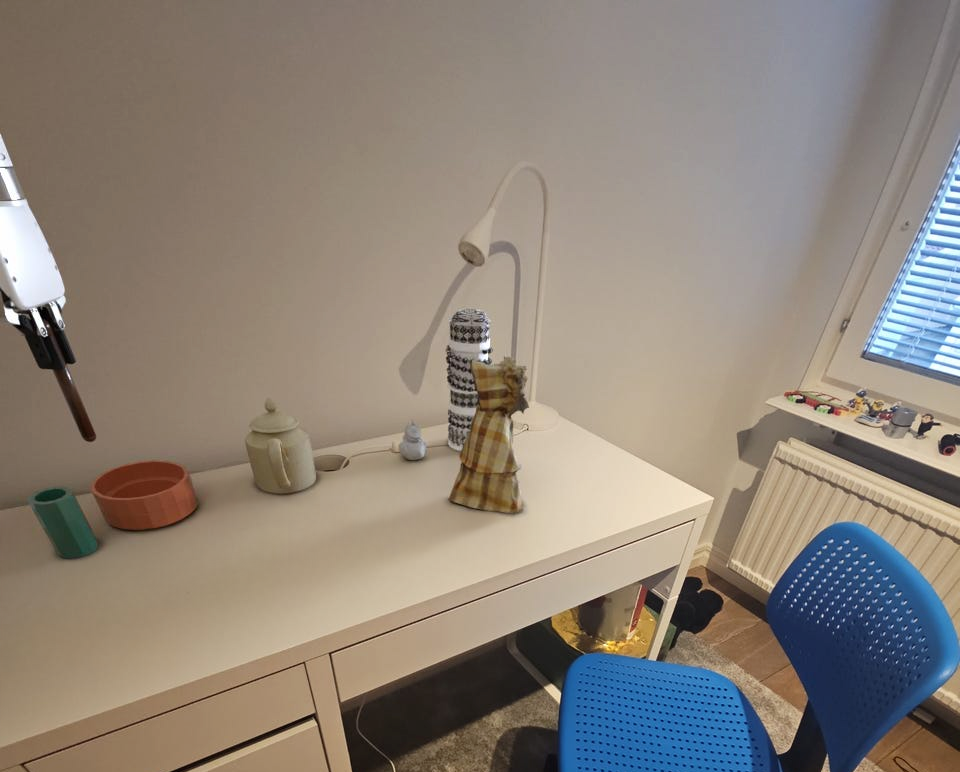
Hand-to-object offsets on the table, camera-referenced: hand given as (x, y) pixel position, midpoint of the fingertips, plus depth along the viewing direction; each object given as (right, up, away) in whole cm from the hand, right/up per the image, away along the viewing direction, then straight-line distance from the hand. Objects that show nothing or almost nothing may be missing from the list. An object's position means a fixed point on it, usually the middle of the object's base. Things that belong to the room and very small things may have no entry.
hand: (57, 364), depth 74 cm
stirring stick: (0, -8, +7) cm, 10 cm away
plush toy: (+58, -10, +28) cm, 65 cm away
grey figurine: (+42, +1, +40) cm, 58 cm away
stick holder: (-5, -23, +11) cm, 26 cm away
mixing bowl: (+1, -15, +20) cm, 25 cm away
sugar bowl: (+21, -8, +29) cm, 37 cm away
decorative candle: (+54, +6, +46) cm, 71 cm away
